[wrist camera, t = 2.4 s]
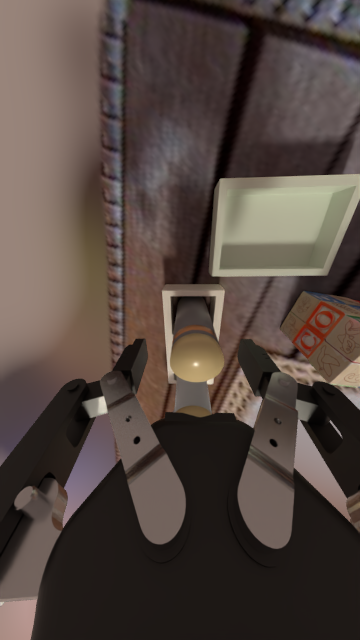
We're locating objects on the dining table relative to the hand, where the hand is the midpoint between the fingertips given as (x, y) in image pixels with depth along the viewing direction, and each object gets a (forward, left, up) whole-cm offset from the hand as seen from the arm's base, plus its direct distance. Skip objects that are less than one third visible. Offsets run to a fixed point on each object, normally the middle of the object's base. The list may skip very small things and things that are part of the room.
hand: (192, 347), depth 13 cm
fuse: (0, +8, -9) cm, 12 cm away
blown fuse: (0, 0, -9) cm, 9 cm away
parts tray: (-8, -9, -9) cm, 15 cm away
